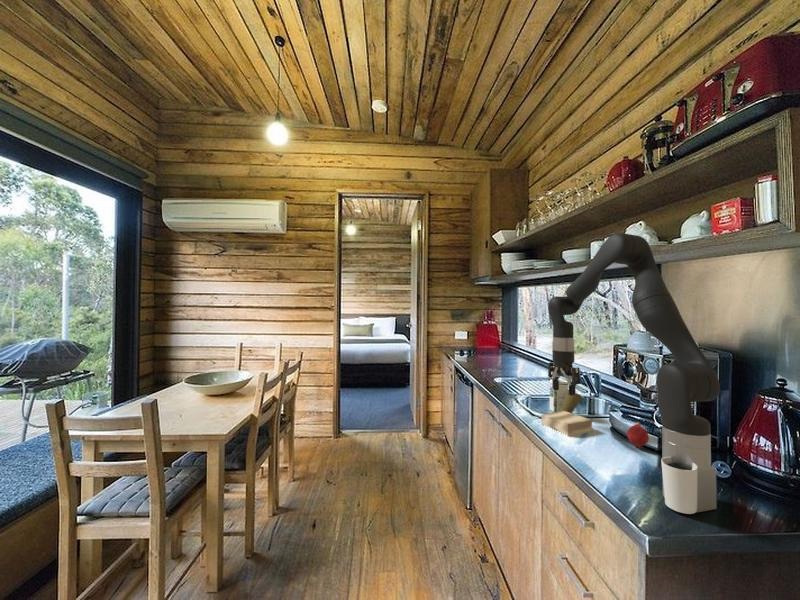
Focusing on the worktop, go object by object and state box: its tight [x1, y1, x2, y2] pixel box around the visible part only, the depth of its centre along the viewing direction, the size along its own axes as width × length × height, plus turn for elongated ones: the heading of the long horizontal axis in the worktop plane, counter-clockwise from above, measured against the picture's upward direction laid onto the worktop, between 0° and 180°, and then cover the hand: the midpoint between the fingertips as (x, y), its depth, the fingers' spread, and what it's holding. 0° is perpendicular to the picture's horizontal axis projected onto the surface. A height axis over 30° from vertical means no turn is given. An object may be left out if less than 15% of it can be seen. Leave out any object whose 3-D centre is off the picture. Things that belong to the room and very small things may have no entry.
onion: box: [626, 422, 649, 448], centre depth 114 cm, size 6×6×8 cm
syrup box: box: [549, 378, 569, 413], centre depth 149 cm, size 6×6×14 cm
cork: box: [558, 388, 583, 414], centre depth 142 cm, size 6×6×11 cm
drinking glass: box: [660, 457, 698, 515], centre depth 81 cm, size 7×7×10 cm
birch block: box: [540, 411, 593, 437], centre depth 131 cm, size 12×12×5 cm
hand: (563, 392), depth 132 cm, fingers open, 8 cm apart
